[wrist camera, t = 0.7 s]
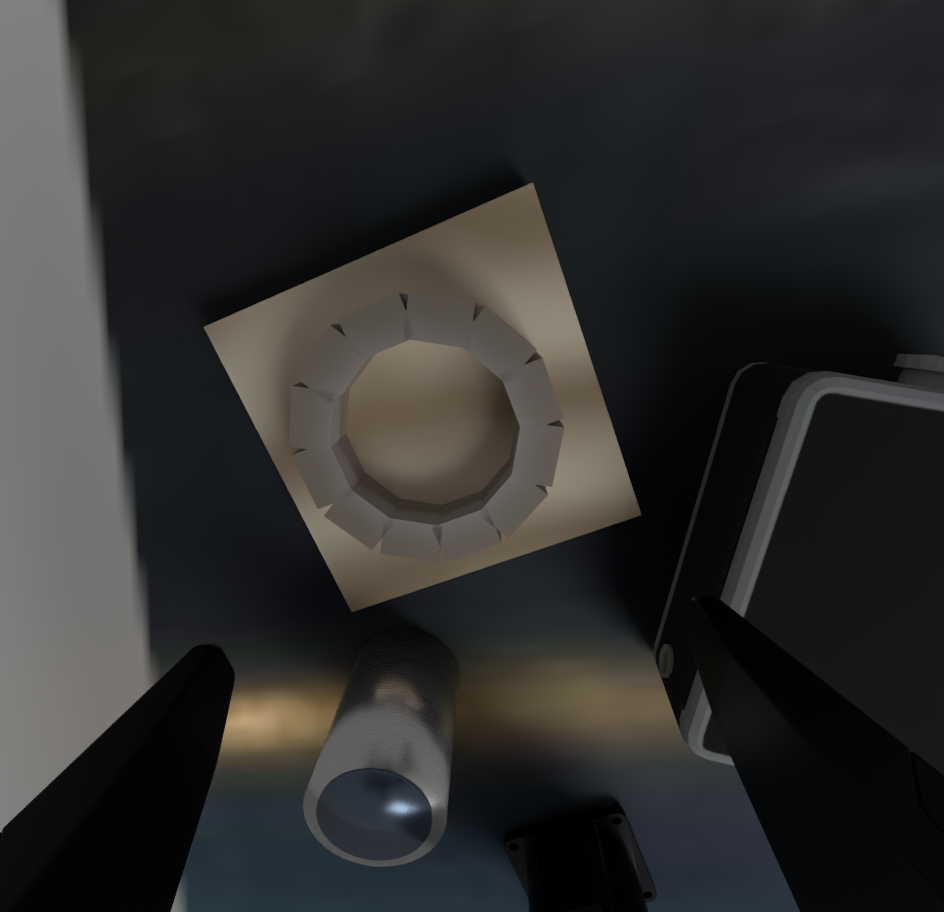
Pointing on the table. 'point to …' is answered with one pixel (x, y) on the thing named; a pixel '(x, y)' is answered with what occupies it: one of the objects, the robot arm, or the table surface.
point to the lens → (388, 753)
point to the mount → (432, 404)
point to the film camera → (824, 543)
